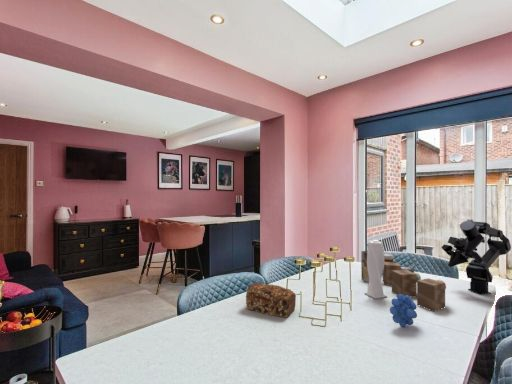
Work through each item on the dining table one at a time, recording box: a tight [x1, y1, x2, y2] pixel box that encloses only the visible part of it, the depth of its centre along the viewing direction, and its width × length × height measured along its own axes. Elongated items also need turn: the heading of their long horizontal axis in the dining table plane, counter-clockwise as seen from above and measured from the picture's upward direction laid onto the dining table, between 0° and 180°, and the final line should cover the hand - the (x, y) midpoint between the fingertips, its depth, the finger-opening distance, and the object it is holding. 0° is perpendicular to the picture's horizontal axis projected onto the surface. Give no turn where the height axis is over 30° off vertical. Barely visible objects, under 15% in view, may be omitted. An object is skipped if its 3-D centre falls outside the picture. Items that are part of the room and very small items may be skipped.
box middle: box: [391, 270, 417, 298], centre depth 132 cm, size 8×7×10 cm
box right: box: [416, 278, 446, 312], centre depth 118 cm, size 8×7×10 cm
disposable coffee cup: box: [382, 252, 395, 276], centre depth 165 cm, size 10×10×12 cm
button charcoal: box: [401, 265, 415, 273], centre depth 146 cm, size 8×5×5 cm, turn 71°
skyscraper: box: [364, 237, 388, 300], centre depth 129 cm, size 8×8×28 cm
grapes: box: [389, 294, 418, 328], centre depth 98 cm, size 12×7×12 cm, turn 107°
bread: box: [245, 282, 297, 318], centre depth 114 cm, size 19×11×10 cm, turn 62°
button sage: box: [414, 271, 422, 281], centre depth 132 cm, size 8×5×5 cm, turn 95°
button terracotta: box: [435, 279, 447, 290], centre depth 119 cm, size 8×5×5 cm, turn 117°
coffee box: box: [360, 250, 370, 284], centre depth 151 cm, size 9×6×16 cm
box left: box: [382, 261, 402, 286], centre depth 148 cm, size 8×7×10 cm
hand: (449, 266), depth 132 cm, fingers closed
